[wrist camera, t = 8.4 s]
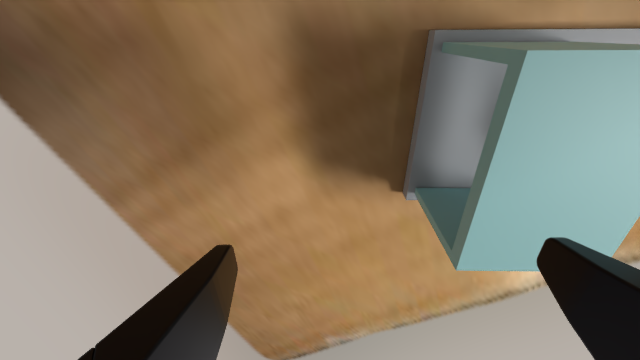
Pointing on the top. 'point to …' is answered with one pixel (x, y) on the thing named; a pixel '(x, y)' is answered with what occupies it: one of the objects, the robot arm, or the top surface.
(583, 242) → the housing cover
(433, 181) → the base plate
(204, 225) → the top surface
